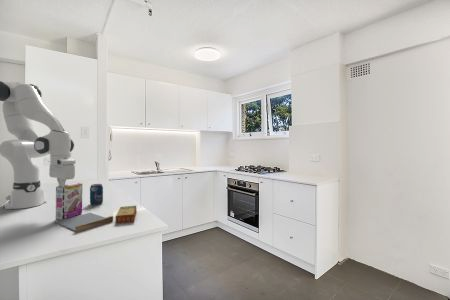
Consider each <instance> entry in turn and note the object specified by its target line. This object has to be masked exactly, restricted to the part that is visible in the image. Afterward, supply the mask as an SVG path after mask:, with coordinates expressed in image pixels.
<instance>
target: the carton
mask: <svg viewBox="0 0 450 300" xmlns="http://www.w3.org/2000/svg"><path fill="white" fill-rule="evenodd" d="M137 209H138V208H137V205H128V206H125V205H124V206H120V207H119V209H118V211H117V213H116V214H115V225H116V224H117V225H118V224H126V223H127V224H128V223H134V222H135V219H136V216H137V212H138V211H137Z"/></svg>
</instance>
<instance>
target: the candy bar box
mask: <svg viewBox="0 0 450 300" xmlns="http://www.w3.org/2000/svg"><path fill="white" fill-rule="evenodd" d="M81 213H83V183H81V182H75V183H74V182H73V183H69V184H65V185H62V186H59V185H58V186H55V220H57V221H59V220H63V219H67V218H71V217H73V216H74V217H75V216H76V215H77V216H79V215H82V214H81ZM78 214H79V215H78Z"/></svg>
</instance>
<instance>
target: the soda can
mask: <svg viewBox="0 0 450 300" xmlns="http://www.w3.org/2000/svg"><path fill="white" fill-rule="evenodd" d="M103 202H104V187H103V184H102V183H92V184H91V185H90V187H89V203H90V205H91V206H99V205H102V204H103Z"/></svg>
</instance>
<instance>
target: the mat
mask: <svg viewBox="0 0 450 300" xmlns="http://www.w3.org/2000/svg"><path fill="white" fill-rule="evenodd" d="M102 218H106V216H102V215H99V214H96V213H93V212H87V213H84V214H79V215H77V216H74V217H71V218H67V219H63V220H57V221H54V223H55V224H56V223H57V224H56V225H58V226H61V227H64V228H65V227H66V229H67V230H70V231H73V232H75V226H78V225H82V224H85V223H89V222H92V221H96V220H99V219H102Z"/></svg>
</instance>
